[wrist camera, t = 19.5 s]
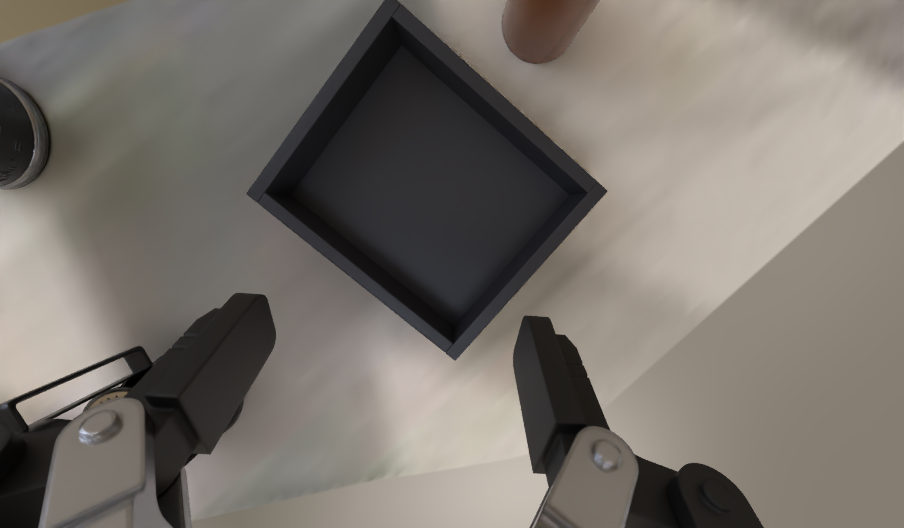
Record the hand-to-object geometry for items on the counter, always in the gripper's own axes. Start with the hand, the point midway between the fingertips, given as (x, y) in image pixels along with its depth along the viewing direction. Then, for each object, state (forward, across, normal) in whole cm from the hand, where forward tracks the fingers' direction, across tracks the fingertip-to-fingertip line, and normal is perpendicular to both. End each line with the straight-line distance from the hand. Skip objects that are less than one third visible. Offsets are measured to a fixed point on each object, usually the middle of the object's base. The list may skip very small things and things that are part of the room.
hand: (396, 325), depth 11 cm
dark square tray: (+20, 0, +3) cm, 20 cm away
